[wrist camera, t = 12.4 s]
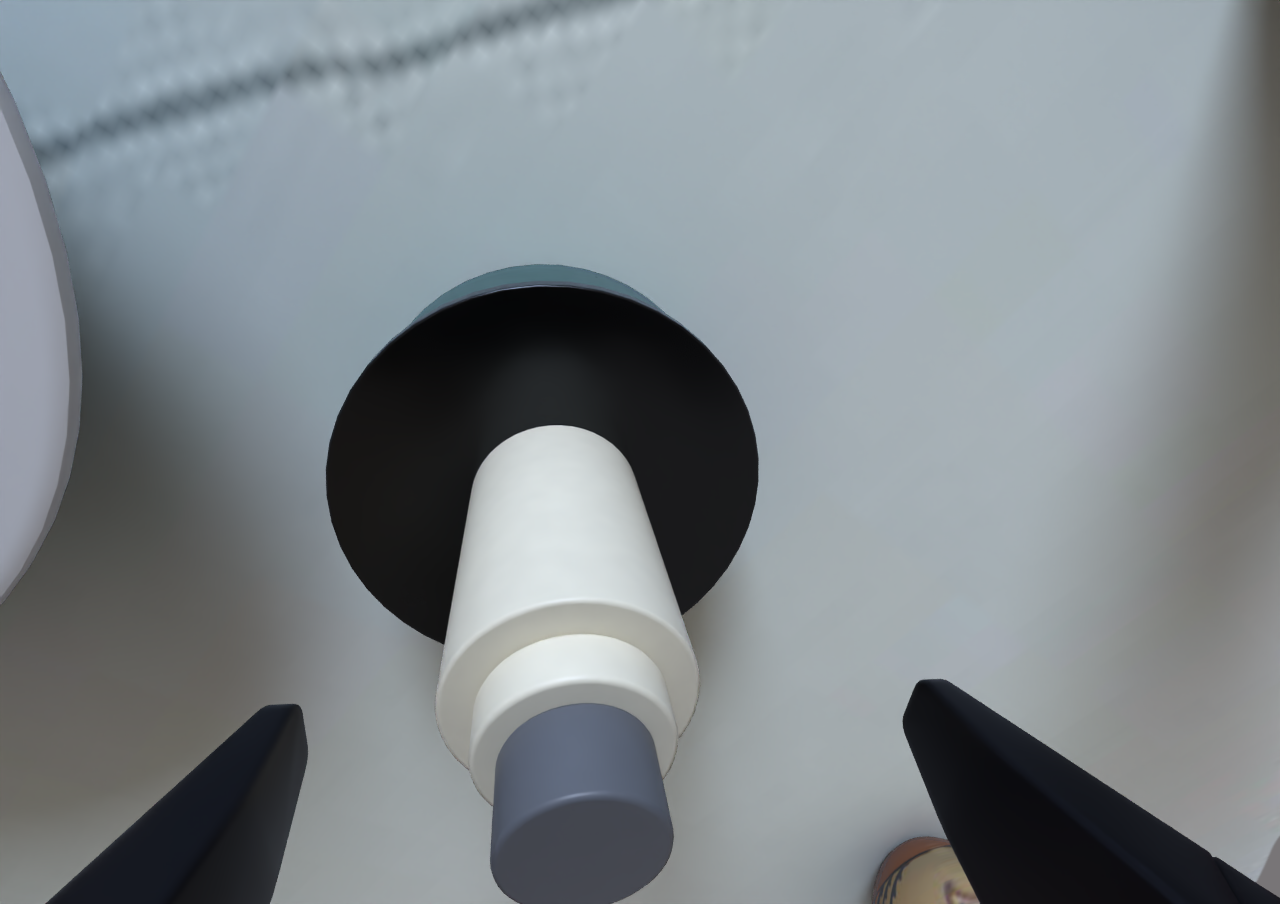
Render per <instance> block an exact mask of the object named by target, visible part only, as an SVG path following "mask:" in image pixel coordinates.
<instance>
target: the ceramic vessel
mask: <svg viewBox="0 0 1280 904" xmlns="http://www.w3.org/2000/svg"><path fill="white" fill-rule="evenodd" d="M872 904H980V903H979V901H978V899H977V897H976V895H975V893H974V891H973V889H972V887H971V885H970V883H969V881H968V879H967V877H966V875H965V873H964V871H963V869H962V867H961V865H960V863H959V861H958V859H957V857H956V855H955V853H954V851H953V849H952V847H951V845H950V843H949V841H948V840H945V839H941V838H936V837H917V838H913V839H910V840H908V841H906V842H904V843H902V844H900V845H899V846H897V847H896V848H895V849H894V850H893V851H892V852H891V853H890V854H889V855H888V856H887V857H886V859H885V860H884V862H883V863H882V865H881V867H880V870H879V872H878V875H877V879H876V883H875V887H874V892H873V897H872Z"/></svg>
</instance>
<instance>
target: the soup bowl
mask: <svg viewBox="0 0 1280 904" xmlns="http://www.w3.org/2000/svg"><path fill="white" fill-rule="evenodd" d="M82 379H83V373H82V358H81V343H80V328H79V316H78V310H77V305H76V299H75V294H74V288H73V283H72V278H71V272H70V267H69V261H68V256H67V251H66V248H65V244H64V241H63V237H62V234H61V230H60V227H59V223H58V220H57V217H56V213H55V210H54V206H53V203H52V199H51V196H50V192H49V189H48V186H47V182H46V179H45V177H44V174H43V172H42V169H41V166H40V164H39V161H38V159H37V156H36V154H35V151H34V149H33V146H32V144H31V141H30V138H29V136H28V133H27V131H26V128H25V126H24V123H23V121H22V118H21V116H20V113H19V110H18V108H17V105H16V103H15V101H14V98H13V96H12V94H11V92H10V90H9V88H8V86H7V84H6V82H5V80H4V78H3V76H2V74H1V72H0V605H1V604H2V603H3V602H4V601H5V599H6V598H7V597H8V595H9V594H10V593H11V591H12V590H13V589H14V587H15V586H16V585H17V583H18V582H19V580H20V579H21V578H22V576H23V575H24V574H25V572H26V571H27V570H28V568H29V567H30V565H31V564H32V562H33V560H34V558H35V557H36V555H37V553H38V551H39V549H40V547H41V545H42V543H43V542H44V540H45V538H46V536H47V534H48V532H49V530H50V528H51V527H52V525H53V523H54V521H55V518H56V515H57V512H58V510H59V507H60V504H61V501H62V498H63V496H64V493H65V490H66V487H67V484H68V481H69V479H70V475H71V470H72V465H73V459H74V454H75V449H76V444H77V439H78V434H79V429H80V413H81V396H82Z"/></svg>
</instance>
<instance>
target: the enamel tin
mask: <svg viewBox="0 0 1280 904" xmlns="http://www.w3.org/2000/svg"><path fill="white" fill-rule="evenodd" d="M549 425H563V426H573V427H577V428H581V429H585V430H588V431H590V432H593V433H595V434H597V435H599V436H601V437H603V438H604V439H606V440H607V441H609V442H610V443H612V444H613V445H614V446H615V447H616V448H617V449H618V450H619V451H620V452H621V453H622V454H623V456H624V457H625V458H626V460H627V461H628V463H629V465H630V466H631V469H632V471H633V473H634V476H635V479H636V482H637V485H638V488H639V491H640V494H641V497H642V500H643V503H644V506H645V509H646V512H647V515H648V518H649V520H650V523H651V526H652V529H653V532H654V535H655V538H656V541H657V544H658V547H659V550H660V553H661V556H662V559H663V562H664V565H665V568H666V571H667V574H668V577H669V580H670V583H671V586H672V589H673V592H674V595H675V598H676V601H677V604H678V607H679V610H680V612H681V615H683V614H684V613H685V612H687V611H688V610H689V609H690V608H692V607H693V606H694V605H695V604H696V603H698V601H699V600H700V599H701V598H702V597H703V596H704V595H705V594H706V593H707V592H708V591H709V590H710V589H711V588H712V587H713V586H714V585H715V583H716V582H717V581H718V580H719V578H720V577H721V576H722V574H723V573H724V572H725V571H726V569H727V568H728V566H729V565H730V563H731V561H732V560H733V558H734V556H735V555H736V553H737V551H738V550H739V548H740V545H741V543H742V541H743V539H744V536H745V534H746V532H747V529H748V527H749V524H750V520H751V517H752V513H753V510H754V506H755V501H756V494H757V487H758V451H757V444H756V437H755V432H754V429H753V425H752V422H751V418H750V415H749V411H748V409H747V407H746V405H745V402H744V400H743V398H742V396H741V394H740V392H739V389H738V387H737V386H736V384H735V383H734V381H733V380H732V378H731V377H730V375H729V374H728V372H727V371H726V369H725V368H724V366H723V365H722V364H721V363H720V361H719V360H718V359H717V358H716V357H715V356H714V355H713V353H712V352H711V351H710V350H709V349H708V348H707V347H706V346H705V345H704V343H703V342H702V341H701V340H699V339H698V338H697V337H696V336H695V335H694V334H692V333H691V332H690V331H689V330H688V329H686V328H685V327H684V326H683V325H682V324H681V323H679V322H678V321H676V320H675V319H673V318H671V317H670V316H668V315H667V314H666V313H665V312H664V311H662V310H661V309H660V308H659V307H658V306H656V305H655V304H654V303H653V302H652V301H650V300H649V299H648V298H647V297H645V296H644V295H642V294H640V293H639V292H637V291H636V290H634V289H633V288H631V287H629V286H628V285H626V284H623V283H621V282H619V281H617V280H615V279H612V278H610V277H608V276H605V275H602V274H599V273H596V272H592V271H589V270H586V269H581V268H575V267H569V266H563V265H539V264H535V265H525V266H516V267H509V268H505V269H501V270H497V271H493V272H489V273H486V274H483V275H481V276H478V277H476V278H473V279H471V280H468V281H466V282H464V283H462V284H460V285H458V286H457V287H455V288H453V289H451V290H450V291H448V292H446V293H444V294H443V295H442V296H440V297H439V298H438V299H436V300H435V301H434V302H433V303H431V304H430V305H429V306H427V307H426V308H425V309H424V310H423V311H422V312H421V313H420V314H419V315H418V316H417V317H416V318H415V319H414V320H413V321H412V322H411V324H410V325H409V326H408V327H406V328H405V329H404V330H402V331H401V332H400V333H399V334H397V335H396V336H395V337H393V338H392V339H391V340H390V341H389V342H388V344H387V345H386V346H385V347H384V348H383V349H382V350H381V351H380V352H379V353H378V354H377V355H376V356H375V357H374V358H373V359H372V360H371V362H370V363H369V364H368V365H367V367H366V368H365V370H364V371H363V373H362V374H361V375H360V377H359V378H358V380H357V381H356V383H355V384H354V385H353V387H352V388H351V390H350V392H349V394H348V396H347V398H346V400H345V402H344V404H343V406H342V408H341V410H340V412H339V414H338V416H337V420H336V423H335V426H334V429H333V433H332V436H331V439H330V443H329V450H328V458H327V465H326V491H327V500H328V506H329V511H330V516H331V521H332V524H333V527H334V530H335V533H336V536H337V539H338V541H339V544H340V547H341V549H342V550H343V552H344V554H345V556H346V558H347V560H348V562H349V564H350V565H351V567H352V569H353V570H354V572H355V573H356V574H357V576H358V577H359V579H360V580H361V581H362V583H363V584H364V585H365V587H366V588H367V589H368V590H369V591H370V592H371V594H372V595H373V596H374V597H375V598H376V599H377V600H378V601H379V602H380V603H381V604H382V605H383V606H384V607H385V608H386V609H388V610H389V611H390V612H391V613H393V614H394V615H395V616H396V617H398V618H399V619H400V620H401V621H403V622H404V623H405V624H407V625H409V626H410V627H412V628H414V629H415V630H417V631H418V632H420V633H422V634H423V635H425V636H427V637H429V638H431V639H433V640H435V641H438V642H440V643H442V644H444V645H445V639H446V633H447V628H448V622H449V616H450V610H451V605H452V599H453V593H454V588H455V582H456V576H457V571H458V565H459V559H460V553H461V548H462V542H463V536H464V531H465V525H466V519H467V513H468V508H469V502H470V496H471V491H472V486H473V482H474V479H475V476H476V474H477V471H478V470H479V468H480V466H481V464H482V463H483V461H484V460H485V459H486V458H487V456H488V455H489V454H490V453H491V452H492V451H493V450H494V449H495V448H496V447H497V446H498V445H500V444H501V443H502V442H504V441H505V440H507V439H508V438H510V437H512V436H514V435H516V434H518V433H521V432H523V431H526V430H529V429H533V428H536V427H542V426H549Z"/></svg>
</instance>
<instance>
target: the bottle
mask: <svg viewBox="0 0 1280 904" xmlns="http://www.w3.org/2000/svg"><path fill="white" fill-rule="evenodd" d="M699 689H700V675H699V668H698V664H697V660H696V657H695V654H694V651H693V648H692V645H691V642H690V639H689V636H688V633H687V630H686V627H685V624H684V621H683V618H682V615H681V612H680V610H679V607H678V604H677V601H676V598H675V595H674V592H673V589H672V586H671V583H670V580H669V577H668V574H667V571H666V568H665V565H664V562H663V559H662V556H661V553H660V550H659V547H658V544H657V541H656V538H655V535H654V532H653V529H652V526H651V523H650V520H649V518H648V515H647V512H646V509H645V506H644V503H643V500H642V497H641V494H640V491H639V488H638V485H637V482H636V479H635V476H634V473H633V471H632V469H631V466H630V465H629V463H628V461H627V460H626V458H625V457H624V456H623V454H622V453H621V452H620V451H619V450H618V449H617V448H616V447H615V446H614V445H613V444H612V443H610V442H609V441H607V440H606V439H604V438H603V437H601V436H599V435H597V434H595V433H593V432H590V431H588V430H585V429H581V428H577V427H573V426H563V425H549V426H542V427H536V428H533V429H529V430H526V431H523V432H521V433H518V434H516V435H514V436H512V437H510V438H508V439H507V440H505V441H504V442H502V443H501V444H500V445H498V446H497V447H496V448H495V449H494V450H493V451H492V452H491V453H490V454H489V455H488V456H487V458H486V459H485V460H484V461H483V463H482V464H481V466H480V468H479V470H478V471H477V474H476V476H475V479H474V482H473V486H472V491H471V496H470V502H469V508H468V513H467V519H466V525H465V531H464V536H463V542H462V548H461V553H460V559H459V565H458V571H457V576H456V582H455V588H454V593H453V599H452V605H451V610H450V616H449V622H448V628H447V633H446V639H445V645H444V650H443V656H442V662H441V668H440V673H439V679H438V685H437V690H436V698H435V714H436V722H437V725H438V728H439V731H440V734H441V737H442V738H443V740H444V742H445V744H446V746H447V748H448V749H449V750H450V752H451V753H452V754H453V756H454V757H455V758H456V759H457V760H458V761H459V762H460V763H461V764H462V765H463V766H464V767H465V768H467V769H468V770H469V771H470V774H471V778H472V780H473V783H474V785H475V786H476V788H477V790H478V792H479V793H480V794H481V796H482V797H483V798H484V799H485V800H486V801H487V802H488V803H489V804H490V805H491V806H493V818H492V836H491V854H490V865H491V871H492V874H493V877H494V879H495V882H496V883H497V885H498V887H499V888H500V889H501V890H502V892H503V893H504V894H506V895H507V896H508V897H509V898H511V899H512V900H514V901H516V902H517V903H520V904H612V903H614V902H617V901H619V900H622V899H624V898H626V897H628V896H630V895H632V894H634V893H635V892H637V891H639V890H640V889H642V888H643V887H644V886H646V885H647V884H648V883H649V882H651V881H652V880H653V879H654V878H655V877H656V876H657V875H658V874H659V873H660V871H661V870H662V869H663V867H664V866H665V865H666V863H667V861H668V859H669V857H670V854H671V851H672V846H673V839H674V833H673V826H672V822H671V817H670V812H669V808H668V803H667V799H666V794H665V789H664V785H663V779H664V778H665V776H666V775H667V773H668V771H669V770H670V768H671V766H672V764H673V761H674V759H675V755H676V752H677V747H678V739H679V738H680V737H681V735H682V734H683V732H684V731H685V729H686V728H687V726H688V725H689V723H690V721H691V718H692V716H693V714H694V712H695V708H696V705H697V701H698V697H699Z"/></svg>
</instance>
